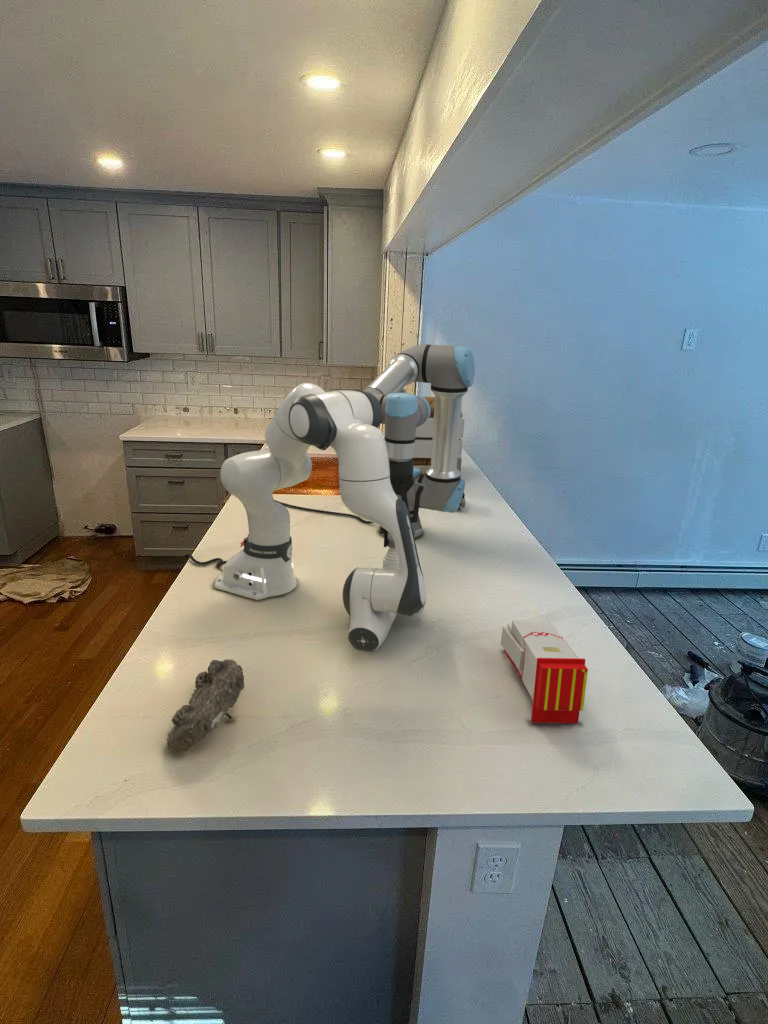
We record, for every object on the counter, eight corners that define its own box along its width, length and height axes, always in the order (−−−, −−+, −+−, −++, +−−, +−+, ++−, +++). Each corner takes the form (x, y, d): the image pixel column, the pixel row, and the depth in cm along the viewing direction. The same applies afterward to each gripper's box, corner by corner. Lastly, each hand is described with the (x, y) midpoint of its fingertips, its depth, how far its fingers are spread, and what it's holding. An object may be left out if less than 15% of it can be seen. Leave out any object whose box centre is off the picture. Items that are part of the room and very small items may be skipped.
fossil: (192, 660, 117) (244, 628, 112) (224, 691, 120) (276, 661, 115) (142, 746, 98) (202, 712, 93) (182, 779, 101) (242, 748, 96)
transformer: (382, 463, 289) (386, 382, 275) (445, 464, 293) (451, 384, 279) (390, 482, 257) (394, 392, 243) (460, 483, 261) (468, 394, 247)
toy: (547, 606, 135) (596, 665, 106) (541, 658, 138) (589, 729, 108) (496, 604, 134) (532, 664, 105) (492, 657, 137) (526, 729, 108)
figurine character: (465, 515, 224) (460, 499, 237) (467, 498, 221) (462, 483, 234) (448, 515, 224) (444, 499, 237) (450, 498, 220) (445, 482, 234)
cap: (388, 541, 149) (389, 534, 148) (403, 543, 148) (403, 536, 147) (384, 547, 145) (385, 539, 145) (399, 549, 144) (400, 541, 144)
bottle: (405, 604, 152) (409, 540, 146) (390, 610, 149) (394, 545, 143) (391, 596, 156) (394, 534, 150) (376, 602, 153) (379, 539, 146)
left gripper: (423, 601, 135) (432, 577, 148) (341, 589, 140) (356, 566, 152) (421, 624, 138) (430, 598, 150) (340, 611, 142) (356, 587, 154)
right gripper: (433, 456, 142) (426, 542, 150) (366, 452, 143) (363, 538, 151) (433, 463, 135) (426, 554, 143) (362, 459, 136) (360, 549, 144)
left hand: (392, 582), depth 151 cm, fingers closed on bottle, 5 cm apart
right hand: (394, 545), depth 147 cm, fingers closed on cap, 4 cm apart
